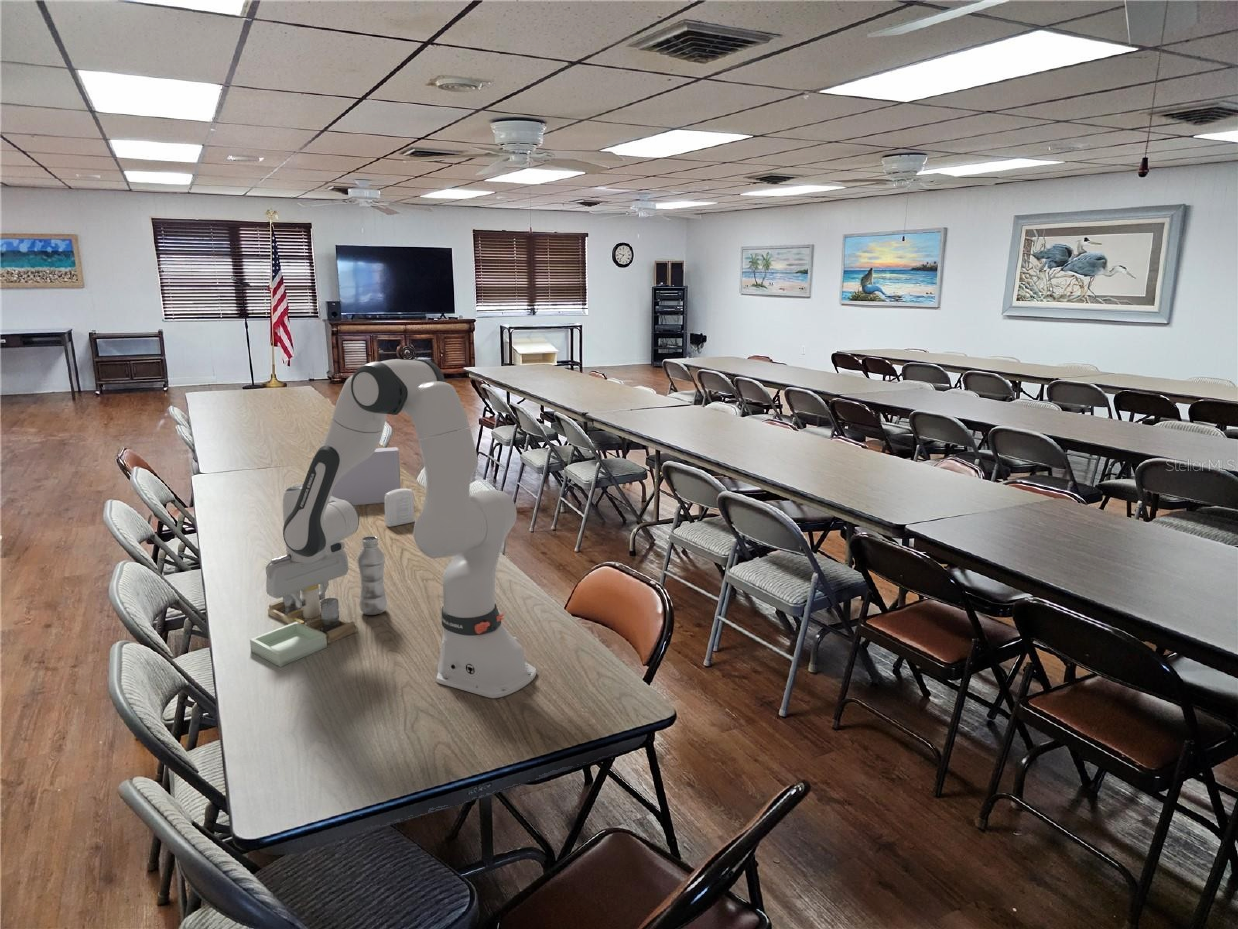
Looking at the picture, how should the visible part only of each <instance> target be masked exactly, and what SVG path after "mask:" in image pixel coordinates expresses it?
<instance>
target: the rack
mask: <svg viewBox="0 0 1238 929" xmlns="http://www.w3.org/2000/svg"><path fill="white" fill-rule="evenodd" d="M320 611H321V609H320ZM282 612H283V613H282ZM267 613H268V615H269V616H271V617H273V618H275V619H277V620H279V621H281V622H283V623H285V624H286V625H289V624H291V623H294V622H299V623H301V624H303V625H305V626H307V627H309V628H312V629H314V630H316V631H318V632H320V633H322V634H324V635H326V642H327V644H330V643H333V642H336V641H338V640H340V639H342V638H344V637H347V636H349V635H352V634H354V633H357V631H358V628H357V625H356V622H354V621H350V622H349V621H347V620H344V619H343V618H340V617H339V620H340V627H337V628H335V629H332V630H330V631H328V632H327V634H325V633H323V632H322V620H321V614H320V615H319V616H318V617H316V618H314V619H312V620H311V619H310V620H309V621H307V622H305V621H304V619H306V618H305V617H303V608H302V607H301V609H298V610H295V611H292V612H290V613H287V615H288V616H287V615H285V614H284V606H283V599H282V600H279V601H275V602H273V603H270V604H269V605H268V609H267ZM320 630H321V631H320Z"/></svg>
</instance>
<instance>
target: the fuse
mask: <svg viewBox="0 0 1238 929" xmlns="http://www.w3.org/2000/svg"><path fill="white" fill-rule="evenodd" d="M319 588H320V584H317V585H315V586H312V587H309V588H307V589H304V590H301V591H300V593H301V594H300V598H303V599H305V604H306V606H304V607H302V608H303V617H305V618H304V619H313V618H314V619H315V618H318V617H319V615H320V614H321V611H320V610H321V606H320V602H321V600H320V599H319Z"/></svg>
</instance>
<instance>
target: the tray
mask: <svg viewBox="0 0 1238 929" xmlns="http://www.w3.org/2000/svg"><path fill="white" fill-rule="evenodd" d="M249 644H250V646H249V647H250V652H251V653H253V654H255V655H256V656H259V657H260V658H263V659H264V660H266V661H268V662H269V663H271V664H274V665H275V666H278V667H279V668H282V667H284V666H286V665H289V664H291V663H293V662H295V661H298V660H301V659H303V658H305V657H308V656H309V655H311V654H312V655H313V654H315V653H317V652H319V651H321V650H323V649H326V648H328V643H327V642H326V635H324V634H322V633H320V632H318V631H316V630H314V629H312V628H309V627H307V626H305V625H303V624H301V623H299V622H294V623H291V624H286V625H284V626H281V627H278V628H276V629H273V630H270V631H268V632H265V633H263V634H260V635H258V636H255V637H252V638H250V639H249Z"/></svg>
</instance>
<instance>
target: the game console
mask: <svg viewBox="0 0 1238 929" xmlns="http://www.w3.org/2000/svg"><path fill="white" fill-rule="evenodd" d="M400 462H401V461H400V449H399V448H398V446H394V447H380V448H378V447H377V448H376V450H375V452H374V453H373V454H372V455H371V456H370V457H369V458H368V459H366V460H365V461H363V462H361V463H360V464H358V465H357V466H355V467H354V468H352V469H351V470H350V471H348V472H347V473H346V474H345V475H343V476H342V477H341V478H340V480H339V481H338V482H337V483H336V485H335V487H334V489H333V491H332V494H331V496H333V497H335V498H338V499H343V500H346V501H348V502H350V503H351V504H352V505H353V506H361V505H374V504H381V503H382V504H385V502H384V496H385V494H386V493H388V492H390V491H392V490H396V489H402V488H401V467H400Z"/></svg>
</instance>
